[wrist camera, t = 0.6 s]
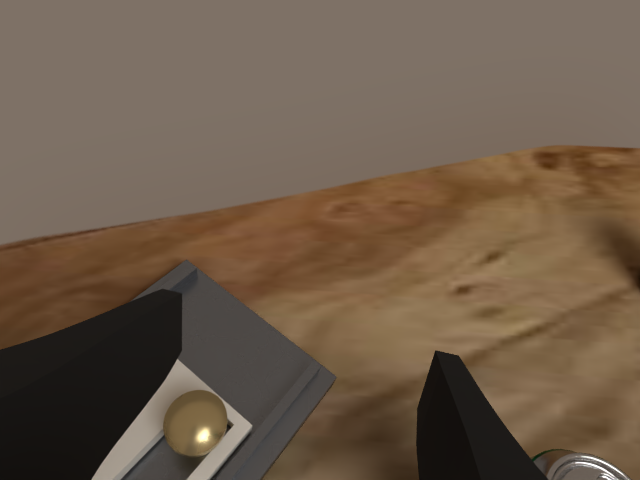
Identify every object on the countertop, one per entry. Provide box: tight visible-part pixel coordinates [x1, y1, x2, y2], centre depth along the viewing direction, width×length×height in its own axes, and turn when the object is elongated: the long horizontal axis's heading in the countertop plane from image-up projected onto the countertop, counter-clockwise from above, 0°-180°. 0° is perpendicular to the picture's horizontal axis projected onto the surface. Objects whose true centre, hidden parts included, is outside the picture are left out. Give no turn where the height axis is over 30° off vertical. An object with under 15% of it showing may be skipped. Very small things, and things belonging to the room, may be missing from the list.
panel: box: [92, 359, 252, 480], centre depth 21 cm, size 10×10×4 cm
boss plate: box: [121, 260, 336, 480], centre depth 23 cm, size 18×14×4 cm
